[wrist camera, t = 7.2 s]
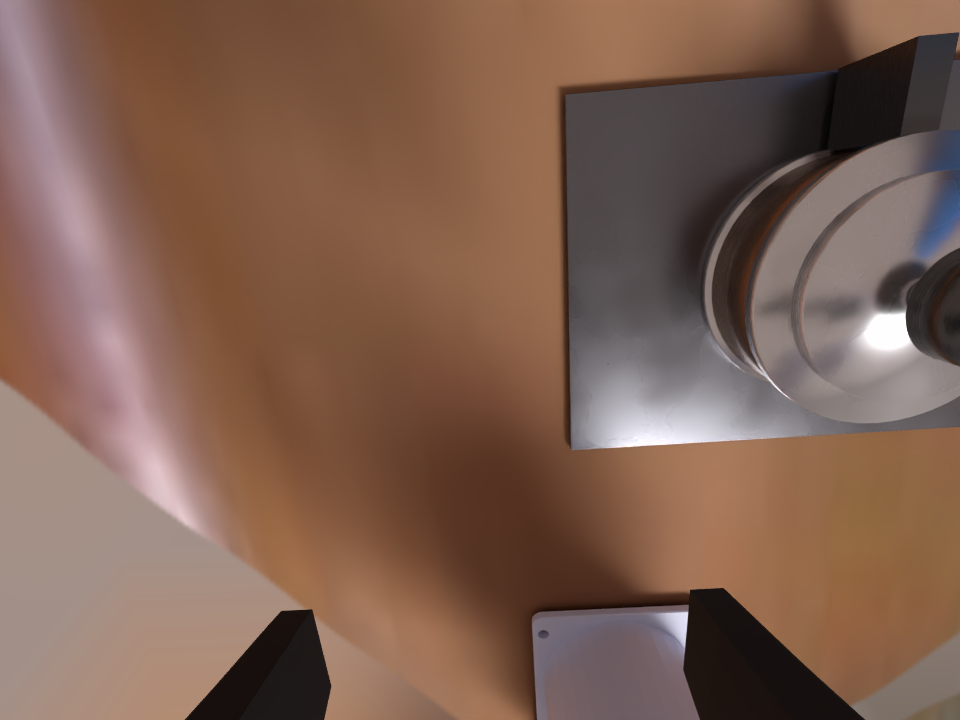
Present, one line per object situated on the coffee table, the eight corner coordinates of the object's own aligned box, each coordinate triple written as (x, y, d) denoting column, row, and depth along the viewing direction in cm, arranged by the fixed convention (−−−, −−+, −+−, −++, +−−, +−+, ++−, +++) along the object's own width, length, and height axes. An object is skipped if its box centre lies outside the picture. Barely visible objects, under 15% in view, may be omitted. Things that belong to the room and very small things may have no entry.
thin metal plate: (1017, 419, 18) (1146, 469, 15) (570, 446, 19) (589, 501, 15) (1134, 46, 14) (1350, -10, 11) (564, 96, 15) (588, 60, 12)
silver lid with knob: (991, 388, 14) (1121, 433, 11) (777, 401, 14) (851, 449, 11) (1056, 161, 12) (1235, 145, 9) (807, 181, 12) (904, 171, 9)
